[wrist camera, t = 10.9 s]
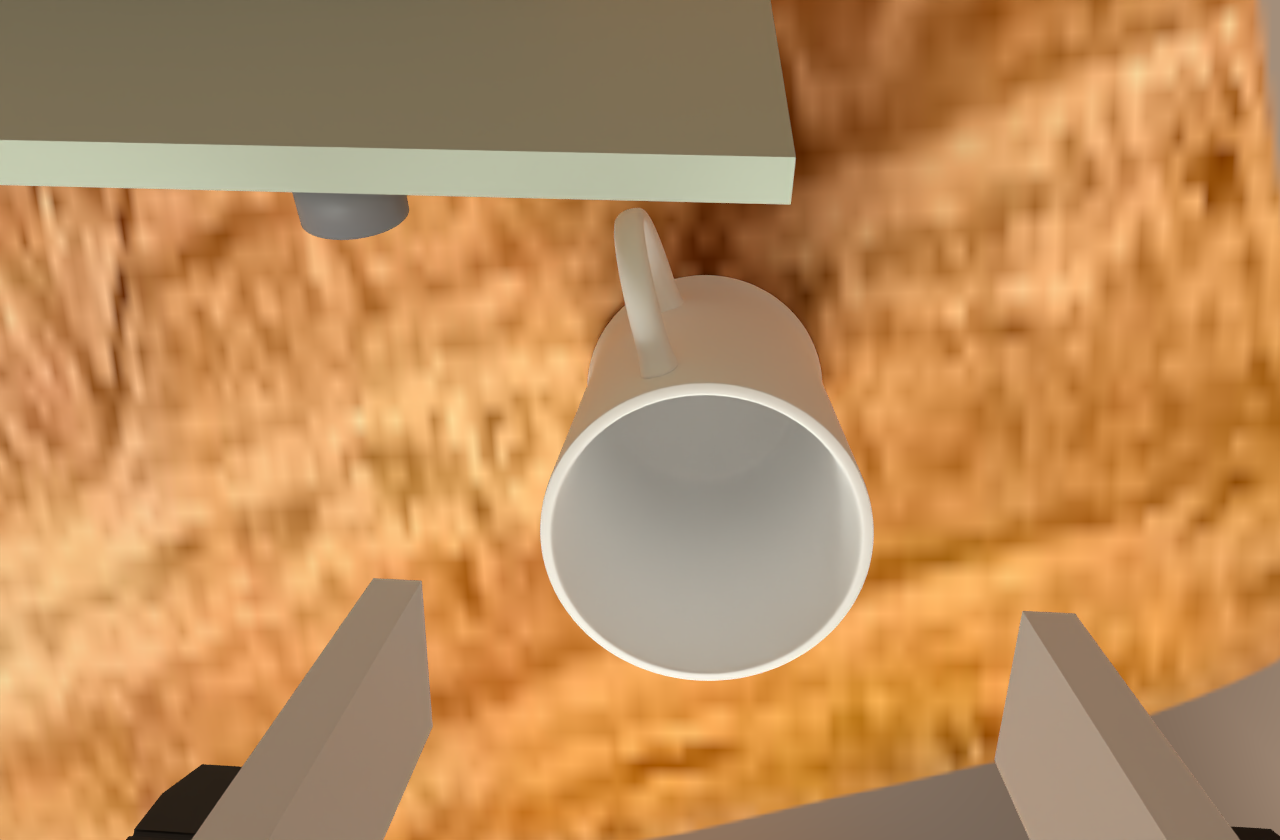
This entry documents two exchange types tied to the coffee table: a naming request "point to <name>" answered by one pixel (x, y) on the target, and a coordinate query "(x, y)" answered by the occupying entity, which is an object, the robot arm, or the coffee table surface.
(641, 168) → the lid
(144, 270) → the coffee table surface
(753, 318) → the mug
